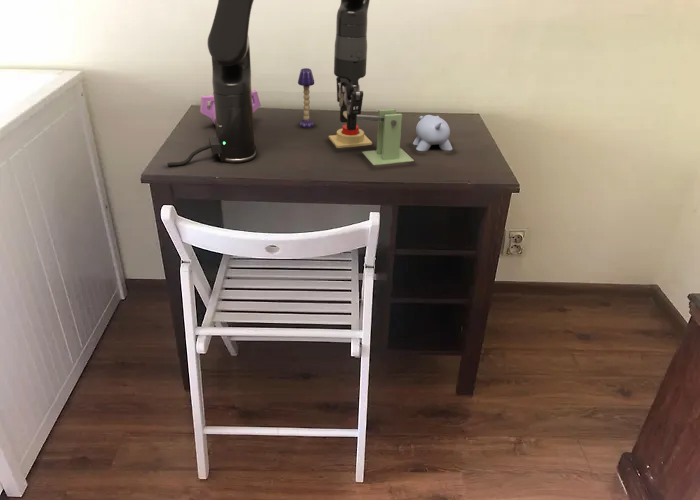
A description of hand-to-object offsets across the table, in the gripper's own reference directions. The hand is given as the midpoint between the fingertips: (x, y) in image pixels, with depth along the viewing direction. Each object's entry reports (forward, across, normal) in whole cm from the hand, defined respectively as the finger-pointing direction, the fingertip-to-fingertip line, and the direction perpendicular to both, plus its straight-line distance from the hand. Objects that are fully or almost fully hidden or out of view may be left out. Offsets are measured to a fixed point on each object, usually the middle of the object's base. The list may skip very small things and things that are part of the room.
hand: (347, 125), depth 147 cm
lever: (0, 0, +6) cm, 6 cm away
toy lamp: (+11, -30, -3) cm, 32 cm away
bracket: (+10, 0, +11) cm, 15 cm away
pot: (+11, -35, -24) cm, 44 cm away
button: (+7, -13, +5) cm, 16 cm away
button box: (+10, -13, +5) cm, 17 cm away
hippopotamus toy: (+10, -6, +26) cm, 29 cm away
